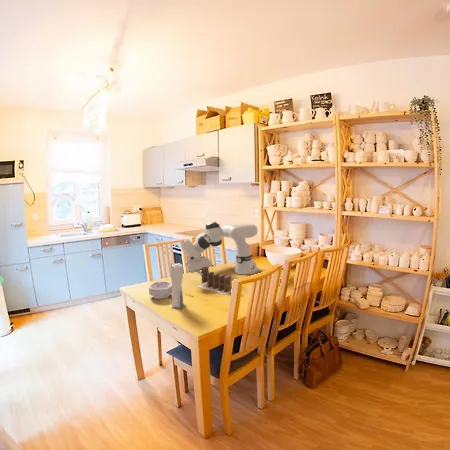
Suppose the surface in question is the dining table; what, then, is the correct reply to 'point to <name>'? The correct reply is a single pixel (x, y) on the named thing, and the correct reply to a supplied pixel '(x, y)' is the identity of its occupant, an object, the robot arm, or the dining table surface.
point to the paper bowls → (160, 289)
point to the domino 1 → (204, 277)
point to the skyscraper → (177, 286)
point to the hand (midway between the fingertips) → (205, 274)
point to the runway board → (213, 289)
